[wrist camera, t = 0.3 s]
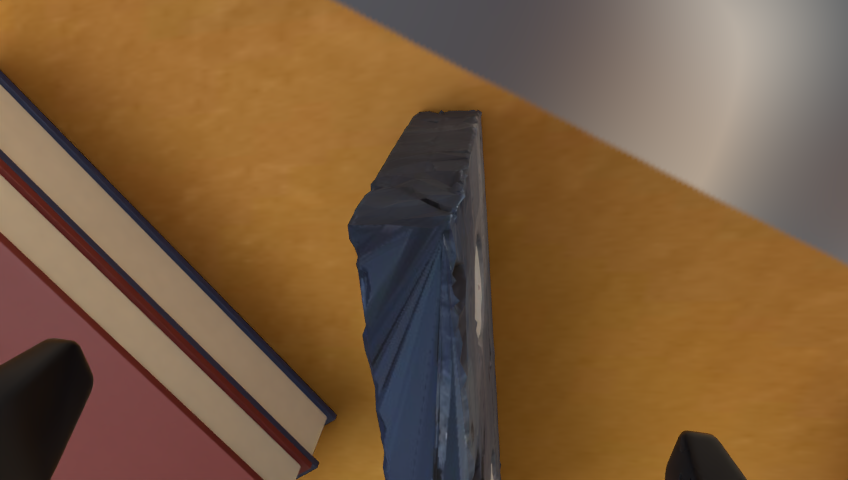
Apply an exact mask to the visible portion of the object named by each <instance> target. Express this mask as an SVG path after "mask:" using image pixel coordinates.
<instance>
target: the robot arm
mask: <svg viewBox="0 0 848 480" xmlns="http://www.w3.org/2000/svg"><path fill="white" fill-rule="evenodd" d="M93 381H94V379H93V374H92V371H91V369H90V367H89V365H88V362H87V360H86V358H85V356H84V353H83V351H82V349H81V347H80V345H79V344H78V343H77V342H75V341H72V340H66V339H59V338H49V339H46V340H44V341H42V342H40V343H38V344H37V345H35V346H33V347H31V348H30V349H28V350H26V351H24V352H23V353H21V354H19V355H17V356H16V357H14V358H12V359H10V360H9V361H7V362H5V363H3V364H2V365H0V480H51V477H52V475H53V473H54V471H55V469H56V467H57V465H58V463H59V461H60V459H61V457H62V455H63V452H64V450H65V448H66V446H67V444H68V441H69V439H70V437H71V435H72V433H73V431H74V428H75V426H76V424H77V422H78V420H79V417H80V415H81V413H82V411H83V409H84V407H85V404H86V402H87V400H88V398H89V396H90V394H91V391H92V388H93ZM665 480H747V479H746V478H745V476H744V475H743V474H742V472H741V471H740V469H739V468H738V467H737V465H736V464H735V463H734V461H733V460H732V458H731V457H730V456H729V454H728V453H727V451H726V450H725V449H724V447H723V446H722V444H721V443H720V442H719V440H718V439H717V438H716V437H714V436H713V435H711V434H708V433H701V432H694V431H683V432H682V433H681V434H680V435H679V437H678V440H677V442H676V444H675V447H674V449H673V452H672V454H671V456H670V459H669V461H668V463H667V467H666V473H665Z"/></svg>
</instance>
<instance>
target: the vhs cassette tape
mask: <svg viewBox="0 0 848 480" xmlns="http://www.w3.org/2000/svg"><path fill="white" fill-rule="evenodd" d="M481 115H482V112H481V111H479V110H477V111H475V110H471V111H448V112H443V111H442V110H441V111H440V112H439V114H438V113H434V112H430V111H429V112H419V113H418V114H416V115H415V116H414V117H413V118H412V120H411V121H410V123H409V125H408V126H407V127H406V129H405V130H404V132H403V134H402V135H401V137H400V138H399V140H398V141H397V143H396V145H395V147H394V148H393V150H392V151H391V153H390V155H389V157H388V158H387V160H386V162H385V164H384V165H383V167H382V168H381V170H380V172H379V173H378V175H377V177H376V178H375V180H374V181H373V182H372V183H371V191H370V192H369V193H367V194H366V195H365V196H364V198H363V199H362V200H361V202H360V203H359V205H358V206H357V208H356V210H355V212H354V214H353V216H352V218H351V220H350V222H349V224H348V231H349V239H350V241H351V243H352V244H353V246H354V247H355V250H356V253H357V255H358V259H357V263H356V265H357V268H358V273H359V280H360V288H361V295H362V302H363V310H364V316H365V322H366V327H365V330H364V332H363V341H364V347H365V351H366V355H367V358H368V361H369V365H370V369H371V373H372V377H373V381H374V385H375V397H376V412H377V417H378V422H379V427H380V432H381V440H382V444H383V448H384V462H383V470H384V475H385V480H501V475H500V468H501V463H500V452H499V433H498V413H497V392H496V375H495V351H494V341H493V322H492V302H491V283H490V265H489V245H488V226H487V209H486V196H485V175H484V161H483V143H482V127H481Z"/></svg>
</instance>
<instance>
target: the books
mask: <svg viewBox="0 0 848 480" xmlns="http://www.w3.org/2000/svg"><path fill="white" fill-rule="evenodd" d="M49 338H59V339H66V340H72V341H75V342H77V343H78V344H79V345H80V347H81V349H82V351H83V353H84V356H85V358H86V360H87V362H88V365H89V367H90V369H91V371H92V374H93V379H94V381H93V388H92V391H91V394H90V396H89V398H88V400H87V402H86V404H85V407H84V409H83V411H82V413H81V415H80V417H79V420H78V422H77V424H76V426H75V428H74V431H73V433H72V435H71V437H70V439H69V441H68V444H67V446H66V448H65V450H64V452H63V455H62V457H61V459H60V461H59V463H58V465H57V467H56V469H55V471H54V473H53V475H52V477H51V480H296V479H298V478H299V477H301V476H303V475H305V474H307V473H309V472H310V471H312V470H314V469H316V468H317V467H318V465H319V462H318V461H317V460H316V459H315V458H314V457H313V456H312V455H313V453H314V450H315V447H316V445H317V442H318V440H319V437H320V435H321V432H322V429H323V427H324V426H325V425H326V424H328V423H330V422H332V421H333V420H335V419H336V416H337V415H336V414H335V413H334V412H333V411H332V410H331V409H330V408H329V407H328V406H327V405H326V404H325V403H324V402H323V401H322V400H321V399H320V398H319V397H318V396H317V394H316V393H315V392H314V391H313V390H312V389H311V388H310V387H309V386H308V385H307V384H306V383H305V382H304V381H303V380H302V379H301V378H300V377H299V376H298V375H297V374H296V373H295V372H294V371H293V370H292V369H291V368H290V367H289V366H288V365H287V364H286V363H285V362H284V361H283V360H282V359H281V358H280V357H279V356H278V355H277V353H276V352H275V351H274V350H273V349H272V348H271V347H270V346H269V345H268V344H267V343H266V342H265V341H264V340H263V339H262V338H261V337H260V336H259V335H258V334H257V333H256V332H255V331H254V330H253V329H252V328H251V327H250V326H249V325H248V324H247V323H246V322H245V321H244V320H243V319H242V318H241V317H240V316H239V315H238V314H237V312H236V311H235V310H234V309H233V308H232V307H231V306H230V305H229V304H228V303H227V302H226V301H225V300H224V299H223V298H222V297H221V296H220V295H219V294H218V293H217V292H216V291H215V290H214V289H213V288H212V287H211V286H210V285H209V284H208V283H207V282H206V281H205V280H204V279H203V278H202V277H201V276H200V275H199V274H198V272H197V271H196V270H195V269H194V268H193V267H192V266H191V265H190V264H189V263H188V262H187V261H186V260H185V259H184V258H183V257H182V256H181V255H180V254H179V253H178V252H177V251H176V250H175V249H174V248H173V247H172V246H171V245H170V244H169V243H168V242H167V241H166V240H165V239H164V238H163V237H162V236H161V235H160V234H159V233H158V231H157V230H156V229H155V228H154V227H153V226H152V225H151V224H150V223H149V222H148V221H147V220H146V219H145V218H144V217H143V216H142V215H141V214H140V213H139V212H138V211H137V210H136V209H135V208H134V207H133V206H132V205H131V204H130V203H129V202H128V201H127V200H126V199H125V198H124V197H123V196H122V195H121V194H120V193H119V192H118V190H117V189H116V188H115V187H114V186H113V185H112V184H111V183H110V182H109V181H108V180H107V179H106V178H105V177H104V176H103V175H102V174H101V173H100V172H99V171H98V170H97V169H96V168H95V167H94V166H93V165H92V164H91V163H90V162H89V161H88V160H87V159H86V158H85V157H84V156H83V155H82V154H81V153H80V152H79V151H78V149H77V148H76V147H75V146H74V145H73V144H72V143H71V142H70V141H69V140H68V139H67V138H66V137H65V136H64V135H63V134H62V133H61V132H60V131H59V130H58V129H57V128H56V127H55V126H54V125H53V124H52V123H51V122H50V121H49V120H48V119H47V118H46V117H45V116H44V115H43V114H42V113H41V112H40V111H39V110H38V108H37V107H36V106H35V105H34V104H33V103H32V102H31V101H30V100H29V99H28V98H27V97H26V96H25V95H24V94H23V93H22V92H21V91H20V90H19V89H18V88H17V87H16V86H15V85H14V84H13V83H12V82H11V81H10V80H9V79H8V78H7V77H6V76H5V75H4V74H3V73H2V72H1V71H0V365H2V364H3V363H5V362H7V361H9V360H10V359H12V358H14V357H16V356H17V355H19V354H21V353H23V352H24V351H26V350H28V349H30V348H31V347H33V346H35V345H37V344H38V343H40V342H42V341H44V340H46V339H49Z"/></svg>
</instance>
